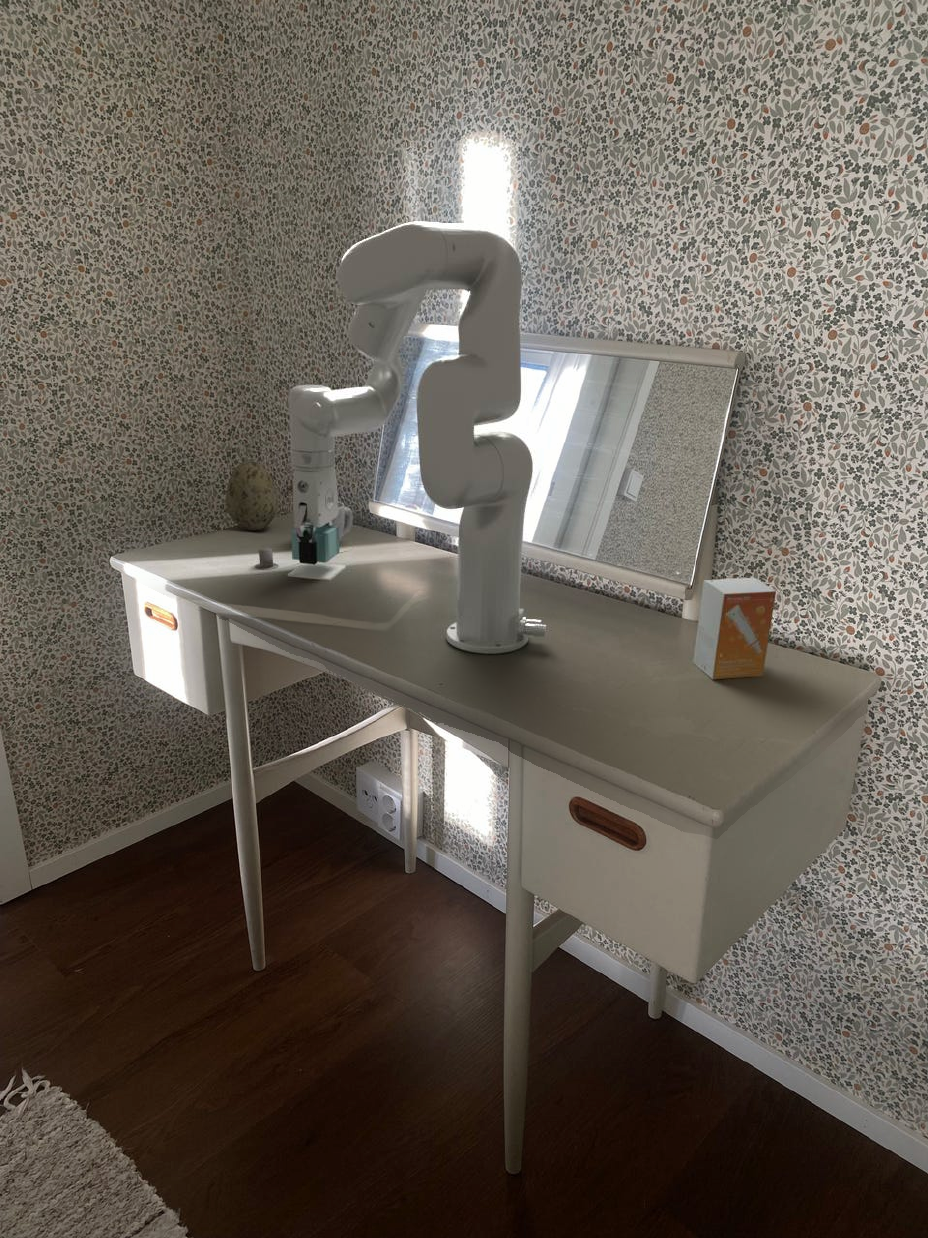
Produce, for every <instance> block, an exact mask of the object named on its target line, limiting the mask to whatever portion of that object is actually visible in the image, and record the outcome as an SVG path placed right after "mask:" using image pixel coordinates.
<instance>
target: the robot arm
mask: <svg viewBox="0 0 928 1238" xmlns="http://www.w3.org/2000/svg"><path fill="white" fill-rule="evenodd" d="M337 271H338V273H337V282H338V288H339V290H340V293H341V295H342V296H343V298H344V299H345V300H346V301H347V302H349V303H350V304H353V305H354V306H356V308H355V310H354V313H353V316H352V317H351V320H350V323H349V324H348V326H347V338H348V340H349V342H350V344H351V345H352V347H354V348H355V349H356V350H357V351H358V352H359V353H360V354H362V355H363V356H365V357H367V358H368V359H369V360H372V361H373V365H372V368H371V370H370V372H369V375H368V378H367V379H366V381H365V383H364V385H362V386H356V387H355V386H354V387H347V388H345V387H344V388H339V389H332V388H330V387H328V386H326V385H322V384H321V385H320V384H299V385H295V386H293V387H292V388H291V389H290V391H289V392H288V393H289V394H288V404H289V405H288V406H289V408H288V409H289V410H288V411H289V430H290V431H289V432H290V433H289V435H290V454H291V455H290V458H291V468H292V469H293V481H292V482H293V483H292V484H293V485H292V510H293V511H292V513H293V514H292V515H293V521H294V523H293V531H294V530H295V532H296V533H297V537H298V538H297V540H298V542H299V560H298V561H299V563H300V564H303V563H304V564H313V565H315V564H316V563H318V562H317V542H314V541H315V533H316V527H318V528H320V527H322V526H324V525H331V526H333V525H332V520H333V519H334V518H336V517H337V515H338V513H339V507H338V501H339V491H338V482H337V473H336V444H335V443H336V438H338V437H346V436H350V435H355V434H363V433H370V432H374V431H377V430H378V429H381V427H383V426H384V425H385V423H386V422H387V421H388V420H389V418H390V416H392V415H391V414H392V413H393V411H394V409H395V407H396V405H397V403H398V401H399V399H400V397H401V394H402V391H403V385H404V377H403V376H404V374H403V373H404V372H403V365H402V361H401V357H400V354H399V352H400V349H401V348H402V345H403V343H404V342H405V339H406V337H407V334H408V332H409V330H410V329H411V326H412V324H413V322H414V320H415V318H416V316H417V314H418V311H419V309H420V307H421V306H422V302H423V301H424V298H425V296H426V295H427V292H428V291H432V290H433V291H434V290H435V291H439V290H441V291H443V290H444V291H445V290H446V291H447V290H462V291H464V290H465V291H466V292H468V295H467V296H466V298H465V300H464V302H463V305H462V307H461V311H460V314H459V318H458V326H457V328H458V330H457V331H458V355H449V356H444V357H441V358H438V359H435V360H434V361H433V362H431V363H430V364H429V365H427V367H426V368H425V369H424V371H423V372H422V375H421V377H420V380H419V383H418V386H417V391H416V420H417V421H416V422H417V438H418V441H417V442H418V456H419V457H418V458H419V471H420V472H419V473H420V478H421V482H422V486H423V488H424V491H425V493H426V495H427V496H428V498H429V499H430V501H431V502H432V503H433V504H435V505H436V506H438V507H440V508H441V509H442V508H443V509H445V510H457V509H461V508H463V509H462V511H461V516H460V521H459V524H458V525H459V526H458V541H457V542H458V544H457V583H456V584H457V587H456V591H457V592H456V593H457V594H456V621H455V622H454V623H452V624H450V625H449V627H447V628H446V640H447V642H448V643H449V644H450V645H451V646H453V647H455V648H457V649H460V650H462V651H466V652H470V653H475V654H476V653H477V654H487V655H488V654H490V655H491V654H493V655H494V654H495V655H496V654H505V653H509V652H513V651H517V650H520V649H521V648H523V647H524V646H525V645H527V643H528V641H529V636H532V637H539V638H546V636H547V632H548V629H547V628H548V625H547V624H542V619H533V618H532V619H531V618H530V619H529V618H528V617H527V616H524V614H525V611H524V610H525V609H524V608H521V607H520V602H521V601H520V600H521V598H520V597H521V581H522V580H521V579H522V578H521V577H522V559H523V557H522V556H523V555H522V554H523V539H524V524H525V523H524V522H525V514H526V513H525V512H526V508H527V507H526V505H527V501H528V497H529V492H530V487H531V484H532V478H533V470H534V469H533V468H534V467H533V466H534V465H533V464H534V463H533V458H532V454H531V451H530V449H529V447H528V445H527V444H526V443H525V442H524V441H523V440H522V439H521V438H520V437H519V436H517V435H516V434H513V433H510V432H506V431H488V432H484V433H478V434H475V427H476V426H481V425H482V426H483V425H488V424H494V423H499V422H502V421H505V420H508V419H509V418H511V417H513V416H514V414H515V413H516V412H517V411H518V409H519V407H520V404H521V396H522V371H521V370H522V366H521V365H522V363H521V362H522V361H521V329H520V326H521V325H520V312H521V299H522V289H523V286H522V284H523V283H522V282H523V274H522V273H523V272H522V266H521V262H520V258H519V255H518V252H517V251H516V249H515V248H514V246H513V244H512V242H510V241H509V240H508V239H507V238H506V237H505V236H504V235H502V234H501V233H500V232H497V231H496V230H494V229H491V228H487V227H485V226H480V225H479V226H478V225H475V224H465V223H445V222H435V221H434V222H432V221H412V222H406V223H403V224H399V225H397V226H395V227H392V228H390V229H387V230H385V231H383V232H380V233H378V234H375V235H373V236H371V237H367V238H366V239H365V238H364V239H363V240H361V241H359V242H357V243H355V244H353V245H352V246H351V247H350V248H349V249H348V250H347V251H346V252H345V253H344V255H343V257H342V259H341V260H340V263H339V266H338V270H337ZM307 521H308V522H311V524H312V525H310V524H305V522H307ZM305 528H309V529H311V530H310V534H309V532H308V531H307V530H305Z"/></svg>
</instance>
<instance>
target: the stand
mask: <svg viewBox="0 0 928 1238" xmlns="http://www.w3.org/2000/svg"><path fill="white" fill-rule="evenodd" d="M258 556H259V558H258V559H259V563H257V564H255V565H254V569H256V570H260V571H272V570H277V569H278V568H279V566H280V565H279V564H278V563H275V562H274V557H273V556H274V553H273V548H271V547H261V548H259V549H258Z"/></svg>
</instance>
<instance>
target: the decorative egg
mask: <svg viewBox="0 0 928 1238" xmlns="http://www.w3.org/2000/svg"><path fill="white" fill-rule="evenodd" d="M225 504H226V509H227V512H228V514H229V517H230V518H231V520H232V521H233V522H234V523H235V524H237V526H239V527H240V528H242V529H244V530H247V531H254V532H255V531H260V530H263V529H264V528H266V527H268V525H270V524H271V523H272V522H273V520H274V518H275V516H276V515H277V511H278V508H279V507H278V506H279V497H278V491H277V489H276V485H275V483H274V481H273V478H272V476H270V474H269V472H268V471H267V470H266V468H265V467H263V466H262V465H261V464H260V463H259V462H257V461H255V460H253V459H248V460H247V459H246V460H243V461H242V462H240V463H239V464H238V465H237V466H236V467H235V469H234V470H233V472H232V474H231V476H230V477H229V480H228V483H227V487H226V492H225Z"/></svg>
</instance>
